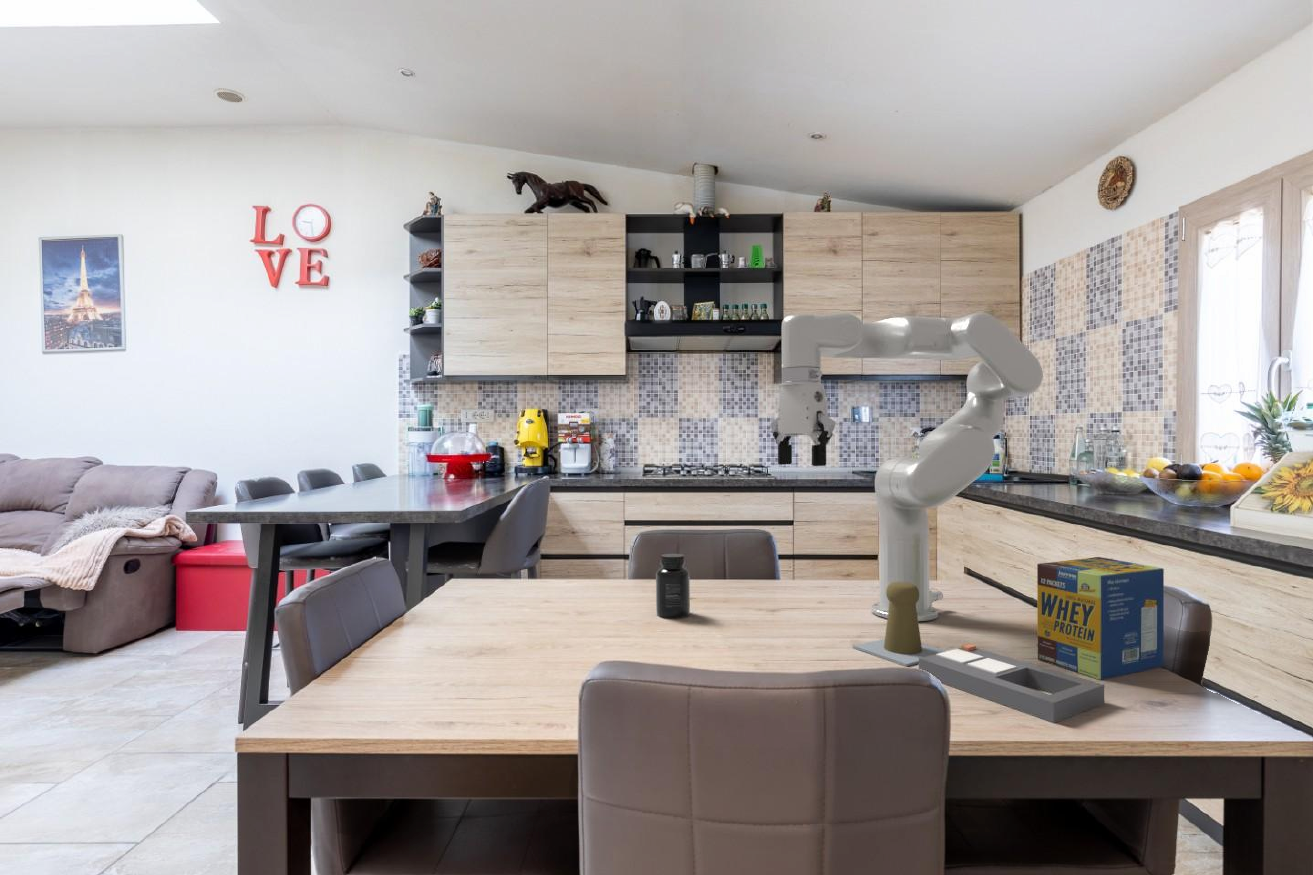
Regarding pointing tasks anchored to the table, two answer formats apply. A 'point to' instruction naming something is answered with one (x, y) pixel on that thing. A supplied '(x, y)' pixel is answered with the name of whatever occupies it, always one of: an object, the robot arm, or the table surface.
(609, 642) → the table surface
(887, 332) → the robot arm
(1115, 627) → the protein box
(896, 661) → the slate mat
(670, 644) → the table surface
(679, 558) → the supplement bottle
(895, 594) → the cork
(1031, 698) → the grey compartment tray
